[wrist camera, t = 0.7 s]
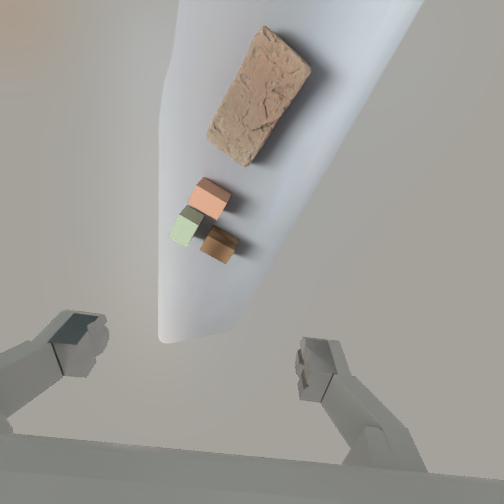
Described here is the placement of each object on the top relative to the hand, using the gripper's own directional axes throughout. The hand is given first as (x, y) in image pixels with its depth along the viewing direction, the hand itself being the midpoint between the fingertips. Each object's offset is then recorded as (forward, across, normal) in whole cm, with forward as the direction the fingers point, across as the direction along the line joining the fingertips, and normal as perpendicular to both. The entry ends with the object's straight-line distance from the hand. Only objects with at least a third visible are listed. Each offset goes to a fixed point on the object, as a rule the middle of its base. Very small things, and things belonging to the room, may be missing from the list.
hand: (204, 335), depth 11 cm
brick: (+39, -1, -9) cm, 40 cm away
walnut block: (+41, +3, +17) cm, 45 cm away
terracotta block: (+40, +6, +7) cm, 41 cm away
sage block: (+42, +10, +14) cm, 45 cm away
